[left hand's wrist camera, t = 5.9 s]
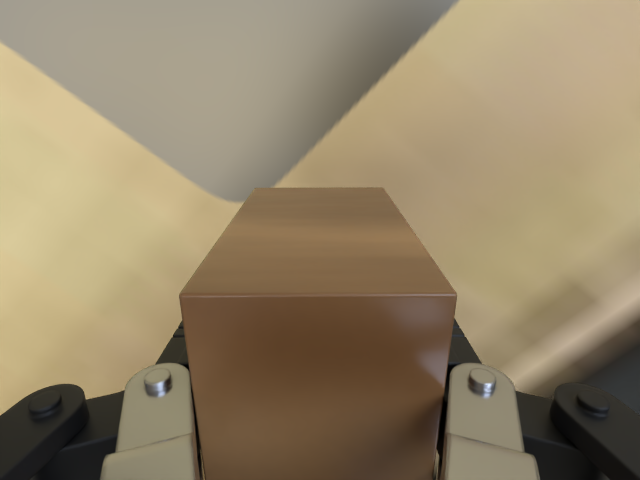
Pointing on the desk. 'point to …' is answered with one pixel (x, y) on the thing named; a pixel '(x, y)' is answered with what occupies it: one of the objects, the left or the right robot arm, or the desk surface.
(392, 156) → the desk surface
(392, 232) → the bar
